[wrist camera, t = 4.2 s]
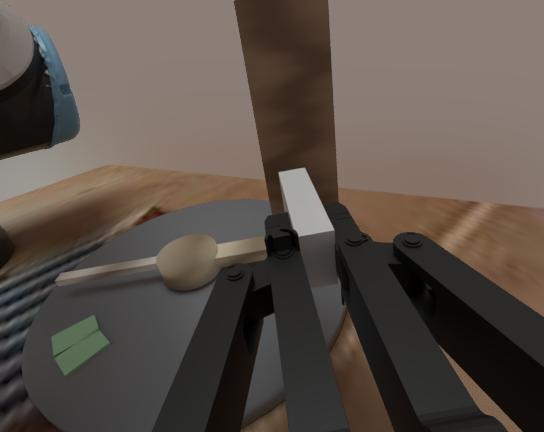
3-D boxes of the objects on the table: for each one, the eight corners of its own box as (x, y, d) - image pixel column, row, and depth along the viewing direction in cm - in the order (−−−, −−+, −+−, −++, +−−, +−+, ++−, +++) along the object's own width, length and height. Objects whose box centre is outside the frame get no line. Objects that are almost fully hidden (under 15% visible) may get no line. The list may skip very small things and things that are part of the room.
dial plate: (7, 307, 30) (-4, 294, 29) (225, 192, 44) (222, 181, 43) (105, 613, 12) (85, 603, 12) (410, 260, 27) (411, 244, 26)
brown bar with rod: (52, 314, 25) (-129, 63, 16) (80, 272, 30) (-51, 57, 20) (344, 262, 25) (331, -19, 16) (329, 229, 29) (312, -8, 20)
